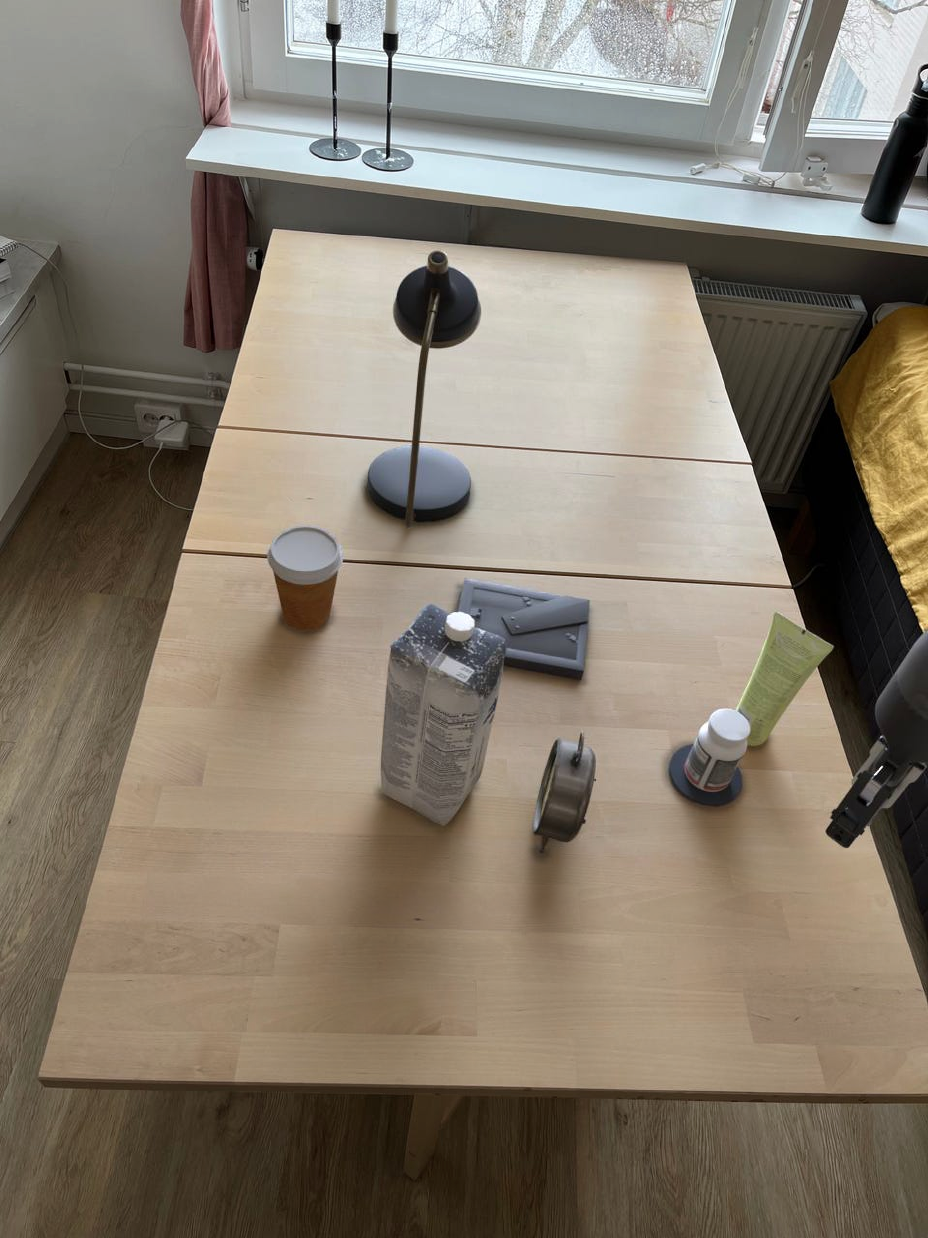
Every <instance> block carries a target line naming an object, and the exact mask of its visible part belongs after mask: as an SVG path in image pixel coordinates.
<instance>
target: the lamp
mask: <svg viewBox="0 0 928 1238" xmlns="http://www.w3.org/2000/svg"><path fill="white" fill-rule="evenodd" d="M392 317H393V321H394V323H395V326H396V327H397V329H398V331H399V332H400V333H401V334H402V335H403V337H404V338H405V339H407V340H409V341H410V342H412V343H413V344H416V345H417V346H420V352H419V360H418V368H417V377H416V391H415V400H414V401H415V402H414V411H413V412H414V413H413V426H412V437H411V445H405V446H404V445H403V446H397V447H395V448H390V449H389V450H386V451H384V452H382V453H381V454H379V455H378V456H376V457H375V458H374V460H372V462H371V463H370V465H369V468H368V472H367V481H366V491H367V495H368V497H369V498H370V500H371V501H372V503H373V504H374V505H375V506H376V507H377V508H378V509H379V510H380V511H382V512H383V513H386V514H387V515H390V517H391V516H392V517H394V518H397V519H398V520H399V519H400V520H403V521H404V522H405V523H404V525H405V528H406V529H412V528H413V526H414V523H434V522H440V521H444V520H447V519H449V518H452V517H454V516H455V515H458V513H460V512H461V511H462V510H463V509H464V508H465V507H466V506H467V504H468V503H469V501H470V497H471V487H472V485H471V484H472V479H471V478H472V477H471V474H470V471H469V469H468V468H467V466H466V465H465V464H464V463H463V462H462V461H461V460H460V459H459V458H457V457H456V456H454V455H452V454H451V453H448V452H447V451H445V450H442V449H439V448H436V447H431V446H426V445H420V443H421V430H422V420H423V409H424V398H425V387H426V378H427V377H426V376H427V368H428V367H427V366H428V359H429V353H430V349H436V350H438V349H439V350H440V349H441V350H443V349H448V348H453V347H455V346H457V345H460V344H462V343H464V342H465V341H467V340H468V339H469V338H471V336H472V335H474V333H475V331H476V330H477V329H478V327H479V326H480V323H481V319H482V307H481V302H480V299H479V295H478V291H477V288H476V286H475V284H474V282H473V281H472V279H471V278H470V277H469V276H468V275H467V274H466V273H464V272H463V271H462V270H459V269H458V268H456V267H453V266H451V265H449V259H448V256H447V253H445V252H444V251H443V250H442V251H441V250H433V251H432V252H430V253H428V256H427V261H426V265H423V266H420V267H417V268H415V269H414V270H411V272H409V273H408V274H407V275H406V276H405V277H404V278H403V279H402V281H401V282H400V284H399V285H398V288H397V291H396V294H395V297H394V300H393V306H392Z"/></svg>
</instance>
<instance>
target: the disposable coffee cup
mask: <svg viewBox="0 0 928 1238" xmlns="http://www.w3.org/2000/svg"><path fill="white" fill-rule="evenodd" d="M266 558H267V563H268V565H269V567H270V569H271V570H272V573H273V577H274V582H275V586H276V590H277V595H278V599H279V603H280V608H281V612H282V618H283V620H284V622H285V623H286V624H287V625H289V626H290V627H291V628H293V629H296V630H299V631H313V630H317V629H320V628H321V627H323V626H324V625H325V624H327V623H328V621H329V620H330V617H331V613H332V612H331V611H332V607H333V600H334V595H335V590H336V586H337V579H338V576H339V575H338V574H339V570H340V569H341V566H342V564H343V561H344V550H343V548H342V546H341V545H340V543H339V541H338V539H337V537H336V536H335V535H334V534H333V533H332V532H330V531H328V530H326V528H322V527H320V526H314V525H308V524H306V525H305V524H304V525H303V524H302V525H295V526H292V527H288V528H286V529H283V530H282V531H280V532H279V533H277V535H276V536H275V537H274V538H273V539H272V541H271V544H270V545H269V547H268V549H267V554H266Z"/></svg>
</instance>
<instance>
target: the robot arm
mask: <svg viewBox="0 0 928 1238" xmlns="http://www.w3.org/2000/svg"><path fill="white" fill-rule="evenodd" d="M874 717H875V720H876V724H877V726H878V728H879V730H880V732H881V734H882V735H880V737H879V738H878V739H877V740H876V741H875V743H874V744H873V745H872V747H871V749H870V750H869V757H868V758H867V759H866V760H865V762H863V764H862V765H861V767H860V768H859V769H858V770H857V772H856V773H855V775H854V776H853V777H852V778H851V787H850V788H849V790H848V791H847V793H846V794H845V795H844V797H843V798H842V799H841V801H840V802H839V804H838V806H837V807H836V808H833V810H832V811H831V812H830V814H831V815H830V816H829V819H830V820H831V822H830V823H829V824H828V826H827V827H826V829H825V834H826V836H827V837H829V838H830V839H831V840H832V841H834V842H835V843H837V844H838V845H839V846H841V847H842V848H844V849H848V848H850V847H851V846H852V844H853V843H854V842H855V840H857V839H858V838H859V836H862V835H864V833H865V832H866V830H865V829H866V828H867V827H868V828H869V827H870V826H871V825H872V824H873V821H872V820H873V819H874V818H875V817H876V815H877V814H878V812H880V810H881V809H889V808H891V807H892V806H893V805H894V803H895V802H896V801H897V799H898V798H900V796H901V794H903V792H904V791H905V790H906V788H907V787H908V785H909V784H911V783H915V782H916V781H917V780H918V779H919V777H921V775H922V774H923V772H924V771H925V770H926V769H927V768H928V628H927V629H926V630H925V631H923V633H922V634H921V635H920V636H919V637H918V638H917V640H916V641H915V642H914V643H913V645H912V646H911V648H910V649H909V651H908V653H907V654H906V656H905V657H904V659H903V660H902V662H901V663H900V665H899V666H898V668H897V669H896V671H895V672H894V674H893V675H892V676H891V678H890V680H889V681H888V683H887V684H886V686H885V688H884V689H883V691H882V692H881V694H880V695H879V696H878V698H877V700H876V703H875V707H874ZM870 769H871V771H870Z"/></svg>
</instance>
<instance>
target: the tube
mask: <svg viewBox="0 0 928 1238" xmlns="http://www.w3.org/2000/svg"><path fill="white" fill-rule="evenodd" d="M834 647H835V646H834V645H833V644H831V643H829V642H827V641H825V640H824V639H822V638H821V637H820V636H818V635H816V634H814V633H813V632H810V631H809V630H808V629H806V628H804V627H802V626H801V625H799V624H798V623H796V622H794V621H793V620H791V619H789V618H788V617H786V616H784V615H783V614H781V613H780V612H778V611H775V612H774V614H773V615H772V619H771V624H770V626H769V629H768V633H767V635H766V638H765V641H764V644H763V646H762V649H761V652H760V654H759V656H758V659H757V662H756V664H755V666H754V669H753V671H752V674H751V676H750V678H749V681H748V682H747V685H746V687H745V689H744V691H743V693H742V696H741V698H740V700H739V702H738V705H737V706H736V709H735V711H737V712H739V713H740V714H742V715H743V716H744V717H745V718H746V719H747V721H748V722H749V725H750V733H749V736H748V738H747V746H751V747H757V746H761V745H763V744H764V743H765V742H766V740H767V739H768V738H769V737H770V734H771V733H772V731H773V730H774V728H775V727H776V725H777V724H778V722H779V721H780V719H781V718H782V716H783V715H784V713H785V712H786V711H787V708H788V707H789V706H790V705H791V703H792V701H793V700H794V699H795V697H796V695H797V694H798V693H799V691H800V690H801V689H802V687H803V686H804V684H805V683H806V682H807V681H808V679H809V678H810V677H811V675H812V674H813V673H814V672H815V670H816V669H817V668H818V666H819V665H820V664H821V663H822V661H824V659H825V658H826V657H827V656H828V655H829V654H831V652H832V651H833V649H834Z"/></svg>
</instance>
